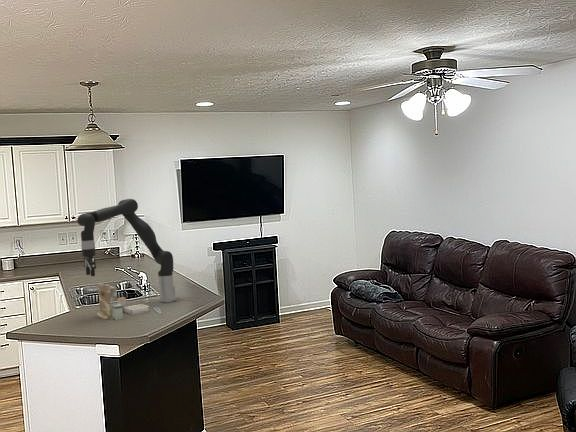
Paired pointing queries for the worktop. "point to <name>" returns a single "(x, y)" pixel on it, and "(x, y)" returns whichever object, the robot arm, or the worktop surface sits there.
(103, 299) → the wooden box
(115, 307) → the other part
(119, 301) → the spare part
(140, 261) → the worktop surface
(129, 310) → the tray
